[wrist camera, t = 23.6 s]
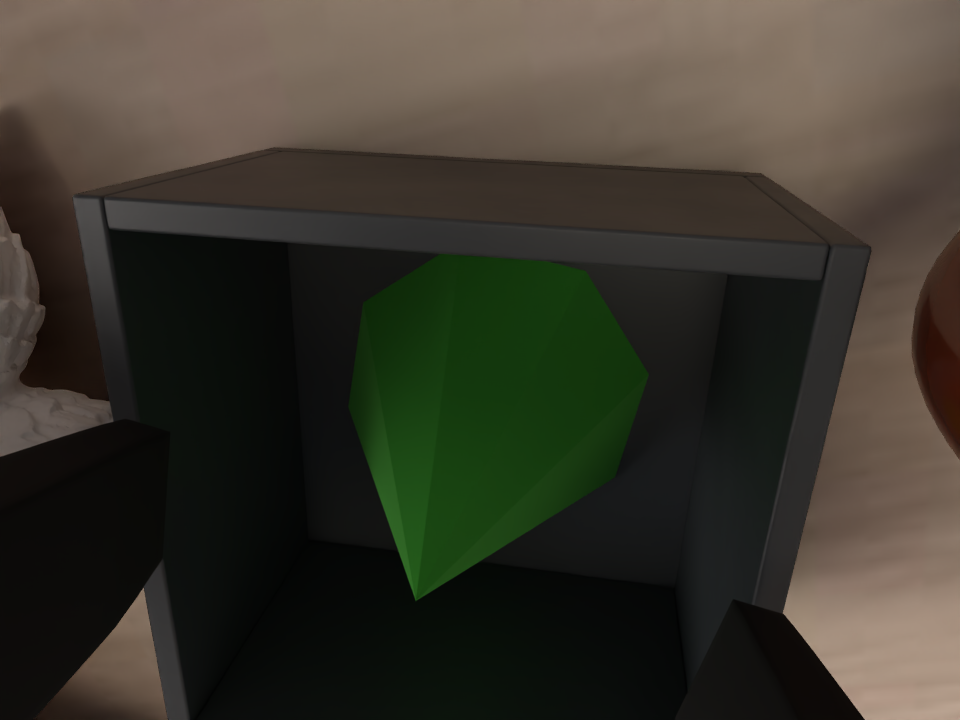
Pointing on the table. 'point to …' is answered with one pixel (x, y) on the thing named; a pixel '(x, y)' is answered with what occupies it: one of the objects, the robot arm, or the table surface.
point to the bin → (343, 465)
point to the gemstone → (488, 404)
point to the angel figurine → (3, 356)
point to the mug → (940, 343)
